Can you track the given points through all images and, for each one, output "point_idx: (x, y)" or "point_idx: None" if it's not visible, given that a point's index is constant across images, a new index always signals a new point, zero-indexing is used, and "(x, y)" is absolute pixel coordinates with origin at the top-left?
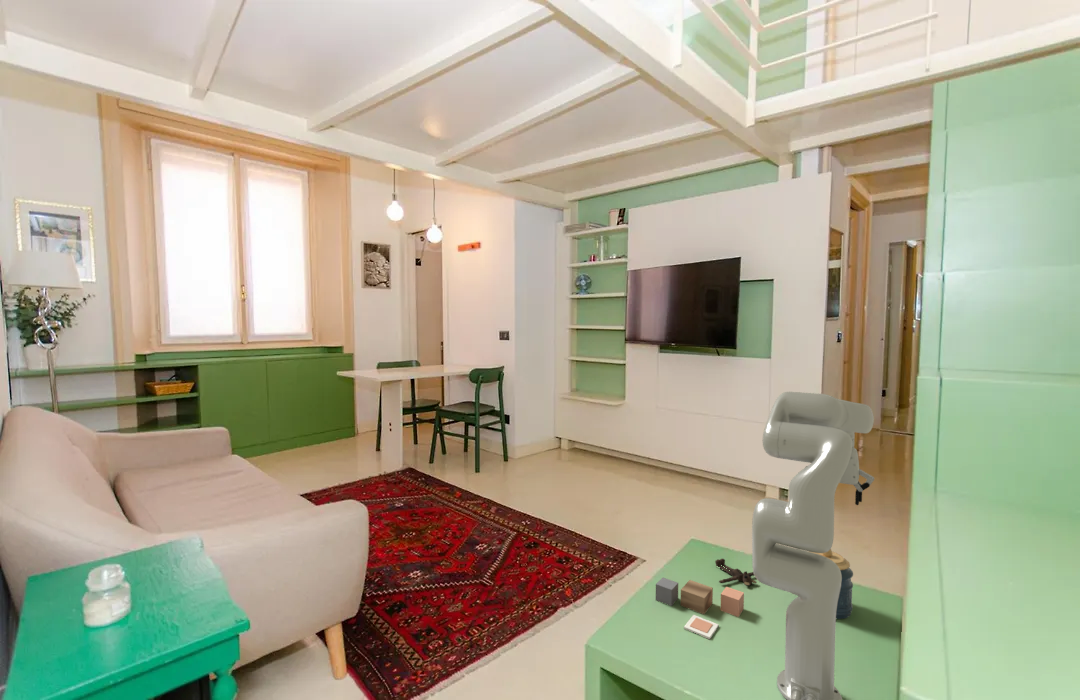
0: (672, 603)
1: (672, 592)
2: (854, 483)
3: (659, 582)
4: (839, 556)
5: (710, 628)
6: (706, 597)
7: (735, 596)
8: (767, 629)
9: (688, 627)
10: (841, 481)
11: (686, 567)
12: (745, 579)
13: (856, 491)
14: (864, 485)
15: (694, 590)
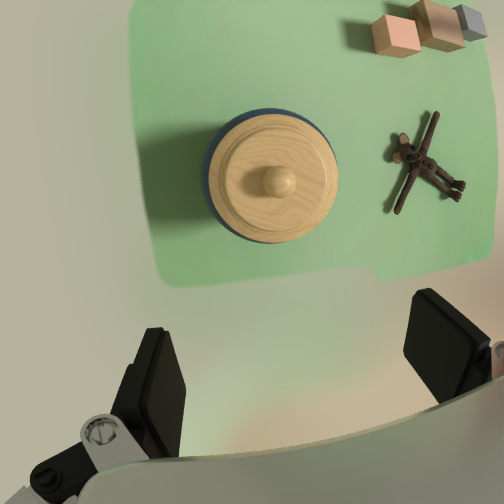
0: None
1: (458, 9)
2: (106, 470)
3: (481, 19)
4: (243, 203)
5: None
6: (423, 9)
7: (394, 23)
8: (320, 15)
9: None
10: (309, 460)
11: (484, 145)
12: (410, 144)
13: (134, 408)
14: (66, 477)
15: (444, 15)
